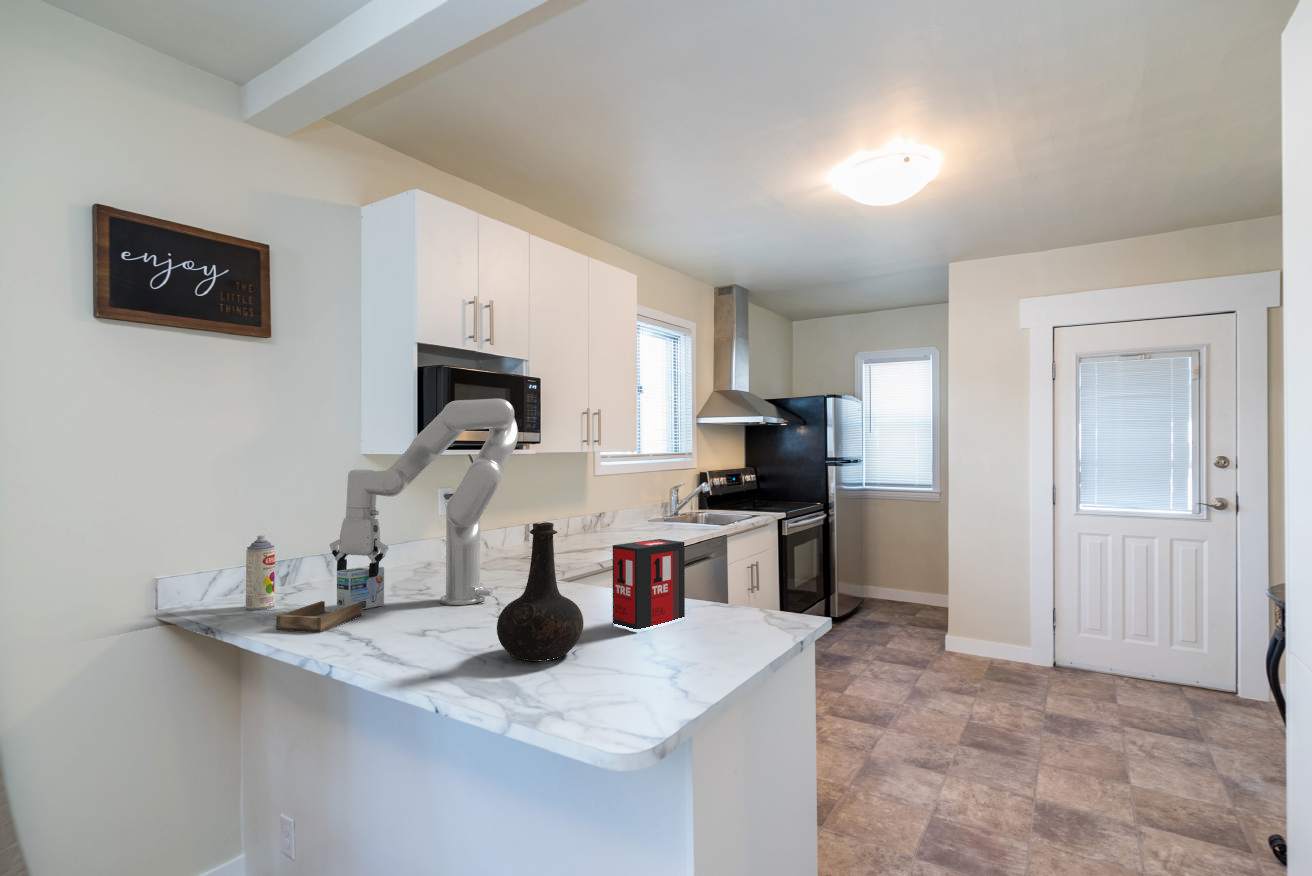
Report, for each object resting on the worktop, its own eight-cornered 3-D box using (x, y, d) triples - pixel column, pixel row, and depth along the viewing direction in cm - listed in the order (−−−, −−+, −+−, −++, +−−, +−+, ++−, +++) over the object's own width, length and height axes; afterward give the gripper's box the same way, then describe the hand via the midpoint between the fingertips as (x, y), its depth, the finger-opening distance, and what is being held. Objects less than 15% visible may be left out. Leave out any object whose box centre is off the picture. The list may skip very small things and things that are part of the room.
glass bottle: (479, 663, 132) (480, 525, 132) (527, 639, 148) (527, 517, 149) (556, 673, 125) (556, 528, 126) (597, 647, 142) (597, 519, 143)
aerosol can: (265, 610, 177) (266, 537, 177) (240, 610, 176) (241, 537, 177) (279, 604, 184) (280, 534, 184) (254, 604, 183) (255, 534, 184)
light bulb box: (350, 612, 173) (350, 572, 174) (335, 610, 177) (335, 570, 177) (385, 604, 182) (385, 566, 183) (371, 602, 186) (370, 564, 186)
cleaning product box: (637, 633, 153) (637, 548, 154) (612, 626, 160) (612, 545, 160) (684, 620, 165) (684, 542, 165) (660, 614, 171) (659, 538, 172)
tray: (362, 616, 170) (362, 602, 170) (320, 632, 155) (320, 617, 155) (321, 614, 172) (321, 601, 172) (276, 630, 157) (276, 615, 157)
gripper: (396, 514, 182) (393, 575, 182) (341, 511, 185) (338, 571, 185) (381, 516, 175) (377, 580, 174) (323, 513, 178) (320, 575, 177)
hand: (357, 575), depth 180 cm, fingers open, 9 cm apart
